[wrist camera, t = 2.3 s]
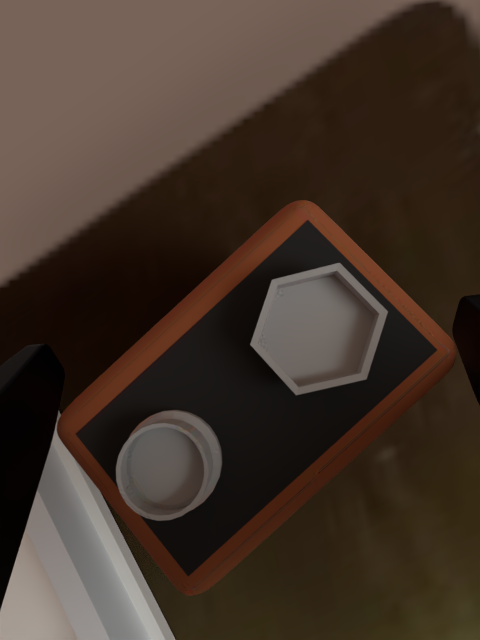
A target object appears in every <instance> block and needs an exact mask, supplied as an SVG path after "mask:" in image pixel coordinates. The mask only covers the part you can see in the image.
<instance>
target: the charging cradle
mask: <svg viewBox="0 0 480 640" xmlns="http://www.w3.org/2000/svg"><path fill="white" fill-rule="evenodd" d="M60 416H61V414H60V412H59V410H58V416H57V421H56V426H55V431H54V435H53V439H52V443H51V447H50V450H49V453H48V456H47V460H46V463H45V466H44V470H43V473H42V476H41V479H40V483H39V486H38V489H37V492H36V496H35V499H34V502H33V505H32V509H31V512H30V515H29V519H28V522H27V525H26V528H25V532H24V535H23V538H22V541H21V545H20V548H19V551H18V554H17V558H16V561H15V564H14V568H13V571H12V574H11V577H10V581H9V584H8V587H7V590H6V594H5V597H4V600H3V603H2V607H1V610H0V640H175V638H174V636H173V634H172V632H171V630H170V628H169V626H168V624H167V622H166V620H165V618H164V616H163V614H162V612H161V610H160V608H159V606H158V604H157V602H156V600H155V598H154V597H153V595H152V593H151V591H150V589H149V587H148V585H147V583H146V581H145V579H144V577H143V575H142V573H141V571H140V569H139V567H138V565H137V563H136V561H135V559H134V557H133V555H132V553H131V551H130V549H129V547H128V545H127V543H126V542H125V540H124V538H123V536H122V534H121V532H120V530H119V528H118V526H117V524H116V522H115V520H114V518H113V516H112V514H111V512H110V510H109V508H108V506H107V504H106V502H105V500H104V498H103V496H102V494H101V492H100V491H99V489H98V488H97V487H96V485H95V484H94V483H93V482H92V480H91V479H90V478H89V477H88V475H87V474H86V473H85V471H84V470H83V469H82V468H81V466H80V465H79V464H78V462H77V461H76V460H75V459H74V457H73V456H72V455H71V453H70V452H69V451H68V450H67V448H66V447H65V446H64V444H63V443H62V441H61V440H60V438H59V436H58V434H57V423H58V421H59V418H60Z"/></svg>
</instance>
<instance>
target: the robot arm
mask: <svg viewBox="0 0 480 640" xmlns="http://www.w3.org/2000/svg"><path fill="white" fill-rule="evenodd" d="M452 331H453V337H454V340H455V343H456V345H457V348H458V351H459V354H460V356H461V359H462V362H463V364H464V367H465V370H466V372H467V375H468V378H469V381H470V383H471V386H472V389H473V391H474V394H475V396H476V398H477V401H478V403H479V405H480V294H479V295H470V296H464V297H462V298H461V300H460V302H459V304H458V308H457V312H456V316H455V319H454V323H453V328H452ZM64 379H65V373H64V369H63V366H62V365H61V363H60V362H59V360H58V359H57V357H56V355H55V354H54V352H53V351H52V349H51V348H50V346H48V345H47V344H35V345H29V346H26V347H25V348H23V349H22V350H21V351H19V352H18V353H17V354H15V355H14V356H13V357H11V358H10V359H9V360H7V361H6V362H5V363H3V364H2V365H1V366H0V610H1V607H2V603H3V600H4V597H5V594H6V590H7V587H8V584H9V581H10V577H11V574H12V571H13V568H14V564H15V561H16V558H17V554H18V551H19V548H20V545H21V541H22V538H23V535H24V532H25V528H26V525H27V522H28V519H29V515H30V512H31V509H32V505H33V502H34V499H35V496H36V492H37V489H38V486H39V483H40V479H41V476H42V473H43V470H44V466H45V463H46V460H47V456H48V453H49V450H50V447H51V443H52V439H53V435H54V431H55V426H56V421H57V416H58V410H59V405H60V400H61V395H62V389H63V384H64Z"/></svg>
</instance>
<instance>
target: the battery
mask: <svg viewBox="0 0 480 640" xmlns="http://www.w3.org/2000/svg"><path fill="white" fill-rule="evenodd" d="M455 359H456V347H455V344H454V342H453V341H452V339H451V338H450V337H449V336H448V335H447V334H446V333H445V332H444V331H443V330H442V329H441V328H440V327H439V326H438V325H437V324H436V323H435V322H434V321H433V320H432V319H431V318H430V317H429V316H428V315H427V314H426V313H425V312H424V311H423V310H422V309H421V308H420V307H419V306H418V305H417V304H416V303H415V302H414V301H413V300H412V299H411V298H410V297H409V296H408V295H407V294H406V293H405V292H404V291H403V290H402V289H401V288H400V287H399V286H398V285H397V284H396V283H395V282H394V281H393V280H392V279H391V278H390V277H389V276H388V275H387V274H386V273H385V272H384V271H383V270H382V269H381V268H380V267H379V266H378V265H377V264H376V263H375V262H374V261H373V260H372V259H371V258H370V257H369V256H368V255H367V254H366V253H365V252H364V251H363V250H362V249H361V248H360V247H359V246H358V245H357V244H356V243H355V242H354V241H353V240H352V239H351V238H350V237H349V236H348V235H347V234H346V233H345V232H344V231H343V230H342V229H341V228H340V227H339V226H338V225H337V224H336V223H335V222H334V221H333V220H332V219H331V218H330V217H329V216H327V215H326V214H325V213H324V212H323V211H322V210H321V209H320V208H319V207H318V206H317V205H315V204H314V203H312V202H310V201H306V200H299V201H295V202H292V203H290V204H288V205H286V206H285V207H284V208H282V209H281V210H280V211H279V212H278V213H277V214H275V215H274V216H273V217H272V218H271V219H270V220H269V221H268V222H267V223H265V224H264V225H263V226H262V227H261V228H260V229H259V230H258V231H257V232H256V233H255V234H253V235H252V236H251V237H250V238H249V239H248V240H247V241H246V242H245V243H244V244H243V245H242V246H240V247H239V248H238V249H237V250H236V251H235V252H234V253H233V254H232V255H231V256H230V257H229V258H227V259H226V260H225V261H224V262H223V263H222V264H221V265H220V266H219V267H218V268H217V269H215V270H214V271H213V272H212V273H211V274H210V275H209V276H208V277H207V278H206V279H205V280H204V281H202V282H201V283H200V284H199V285H198V286H197V287H196V288H195V289H194V290H193V291H192V292H190V293H189V294H188V295H187V296H186V297H185V298H184V299H183V300H182V301H181V302H180V303H179V304H177V305H176V306H175V307H174V308H173V309H172V310H171V311H170V312H169V313H168V314H167V315H166V316H164V317H163V318H162V319H161V320H160V321H159V322H158V323H157V324H156V325H155V326H154V327H152V328H151V329H150V330H149V331H148V332H147V333H146V334H145V335H144V336H143V337H142V338H141V339H139V340H138V341H137V342H136V343H135V344H134V345H133V346H132V347H131V348H130V349H129V350H128V351H126V352H125V353H124V354H123V355H122V356H121V357H120V358H119V359H118V360H117V361H116V362H114V363H113V364H112V365H111V366H110V367H109V368H108V369H107V370H106V371H105V372H104V373H103V374H101V375H100V376H99V377H98V378H97V379H96V380H95V381H94V382H93V383H92V384H91V385H90V386H88V387H87V388H86V389H85V390H84V391H83V392H82V393H81V394H80V395H79V396H78V397H77V398H76V399H75V400H74V401H73V402H72V403H71V404H70V405H69V406H68V407H67V408H66V409H65V410H64V412H63V413H62V415H61V416H60V418H59V421H58V423H57V434H58V436H59V438H60V440H61V441H62V443H63V444H64V446H65V447H66V448H67V450H68V451H69V452H70V453H71V455H72V456H73V457H74V459H75V460H76V461H77V462H78V464H79V465H80V466H81V468H82V469H83V470H84V471H85V473H86V474H87V475H88V477H89V478H90V479H91V480H92V482H93V483H94V484H95V485H96V487H97V488H98V489H99V491H100V492H101V493H102V494H103V496H104V497H105V498H106V500H107V501H108V502H109V503H110V505H111V506H112V507H113V508H114V510H115V511H116V512H117V514H118V515H119V516H120V517H121V519H122V520H123V521H124V523H125V524H126V525H127V526H128V528H129V529H130V530H131V531H132V533H133V534H134V535H135V537H136V538H137V539H138V540H139V542H140V543H141V544H142V546H143V547H144V548H145V549H146V551H147V552H148V553H149V555H150V556H151V557H152V558H153V560H154V561H155V562H156V563H157V565H158V566H159V567H160V569H161V570H162V571H163V572H164V574H165V575H166V576H167V577H168V579H169V580H170V581H171V582H172V584H173V585H174V586H175V587H176V588H177V589H178V590H179V591H180V592H181V593H183V594H185V595H190V596H192V595H197V594H200V593H202V592H204V591H206V590H208V589H209V588H211V587H212V586H213V585H214V584H216V583H217V582H218V581H219V580H221V579H222V578H223V577H224V576H225V575H226V574H227V573H228V572H230V571H231V570H232V569H233V568H234V567H235V566H236V565H237V564H239V563H240V562H241V561H242V560H243V559H244V558H245V557H246V556H247V555H248V554H250V553H251V552H252V551H253V550H254V549H255V548H256V547H257V546H258V545H259V544H261V543H262V542H263V541H264V540H265V539H266V538H267V537H268V536H269V535H270V534H272V533H273V532H274V531H275V530H276V529H277V528H278V527H279V526H280V525H282V524H283V523H284V522H285V521H286V520H287V519H288V518H289V517H290V516H291V515H293V514H294V513H295V512H296V511H297V510H298V509H299V508H300V507H301V506H302V505H304V504H305V503H306V502H307V501H308V500H309V499H310V498H311V497H312V496H313V495H315V494H316V493H317V492H318V491H319V490H320V489H321V488H322V487H323V486H324V485H326V484H327V483H328V482H329V481H330V480H331V479H332V478H333V477H334V476H336V475H337V474H338V473H339V472H340V471H341V470H342V469H343V468H344V467H345V466H347V465H348V464H349V463H350V462H351V461H352V460H353V459H354V458H355V457H356V456H358V455H359V454H360V453H361V452H362V451H363V450H364V449H365V448H366V447H367V446H369V445H370V444H371V443H372V442H373V441H374V440H375V439H376V438H377V437H379V436H380V435H381V434H382V433H383V432H384V431H385V430H386V429H387V428H388V427H390V426H391V425H392V424H393V423H394V422H395V421H396V420H397V419H398V418H399V417H401V416H402V415H403V414H404V413H405V412H406V411H407V410H408V409H409V408H410V407H412V406H413V405H414V404H415V403H416V402H417V401H418V400H419V399H420V398H422V397H423V396H424V395H425V394H426V393H427V392H428V391H429V390H430V389H431V388H432V387H433V386H435V385H436V384H437V383H438V382H439V381H440V380H441V379H442V378H443V377H444V376H445V375H446V374H447V373H448V372H449V371H450V369H451V368H452V366H453V365H454V362H455Z"/></svg>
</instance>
